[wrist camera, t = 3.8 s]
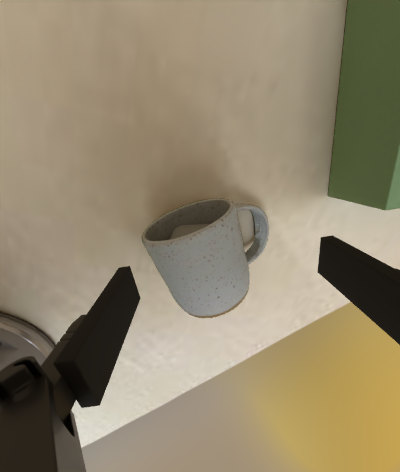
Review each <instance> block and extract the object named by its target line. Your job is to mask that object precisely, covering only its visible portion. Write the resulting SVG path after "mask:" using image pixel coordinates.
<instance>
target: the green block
mask: <svg viewBox="0 0 400 472" xmlns="http://www.w3.org/2000/svg"><path fill="white" fill-rule="evenodd" d="M328 196H330V197H334V198H338V199H342V200H346V201H350V202H354V203H358V204H362V205H366V206H370V207H374V208H378V209H382V210H391V209H397V208H400V0H348V4H347V14H346V24H345V34H344V44H343V53H342V63H341V73H340V83H339V93H338V103H337V113H336V123H335V132H334V142H333V152H332V162H331V172H330V182H329V192H328Z"/></svg>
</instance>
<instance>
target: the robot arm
mask: <svg viewBox="0 0 400 472" xmlns="http://www.w3.org/2000/svg"><path fill="white" fill-rule="evenodd" d="M318 273H319V274H320V275H322V276H323V277H324V278H325V279H326V280H327V281H328V282H329V283H331V284H332V285H333V286H334V287H335V288H336V289H337V290H339V291H340V292H341V293H342V294H343V295H344V296H345V297H346V298H348V299H349V300H350V301H351V302H352V303H353V304H354V305H355V306H357V307H358V308H359V309H360V310H361V311H362V312H363V313H365V314H366V315H367V316H368V317H369V318H370V319H371V320H372V321H374V322H375V323H376V324H377V325H378V326H379V327H380V328H381V329H383V330H384V331H385V332H386V333H387V334H388V335H389V336H390V337H392V338H393V339H394V340H395V341H396V342H397V343H398V344H399V345H400V270H398V269H394V268H392V267H390V266H388V265H387V264H385V263H383V262H381V261H379V260H377V259H375V258H373V257H372V256H370V255H368V254H366V253H364V252H362V251H360V250H358V249H357V248H355V247H353V246H351V245H349V244H347V243H345V242H343V241H342V240H340V239H338V238H336V237H334V236H327V237H321V243H320V254H319V264H318ZM139 300H140V296H139V293H138V289H137V286H136V283H135V280H134V277H133V274H132V271H131V268H130V266H128V267H121V268H118V270H117V271H116V273H115V274H114V276H113V277H112V279H111V280H110V281H109V283H108V284H107V286H106V287H105V289H104V290H103V292H102V293H101V294H100V296H99V297H98V299H97V300H96V302H95V303H94V305H93V306H92V308H91V309H90V310H89V312H88V313H87V315H81V316H80V317H79V318H78V319H77V320H76V321H74V322H73V323H72V324H71V326H70V327H69V328H68V330H67V331H66V334H64V335H63V337H62V338H61V339H60V342H58V343H57V345H56V346H54V344H53V343H52V342H51V341H50V339H49V338H48V337H46V336H45V335H44V334H43V333H42V332H41V331H39V330H38V329H36V328H35V327H33V326H31V325H30V324H28V323H26V322H24V321H22V320H20V319H17V318H15V317H12V316H9V315H5V314H2V313H0V472H86V469H85V464H84V460H83V455H82V450H81V446H80V441H79V436H78V432H77V427H76V422H75V418H74V414H73V413H72V411H71V409H72V407H73V405H74V403H75V401H76V400H77V401H78V403H79V404H80V406H81V408H84V407H91V406H98V405H100V403H101V400H102V398H103V395H104V393H105V390H106V387H107V385H108V382H109V379H110V377H111V374H112V372H113V369H114V366H115V364H116V361H117V358H118V356H119V353H120V350H121V348H122V345H123V343H124V340H125V337H126V335H127V332H128V329H129V327H130V324H131V322H132V319H133V316H134V314H135V311H136V308H137V306H138V303H139Z"/></svg>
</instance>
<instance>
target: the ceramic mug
mask: <svg viewBox="0 0 400 472" xmlns="http://www.w3.org/2000/svg"><path fill="white" fill-rule="evenodd" d="M244 209H249V210H250V211H251V213H252V214H253V217H254V224H255V240H254V242H253V244H252V246H251V247H250V248H249V249H248V250H247V252H245V251H244V246H243V241H242V236H241V231H240V226H239V220H238V215H237V211H238V210H244ZM268 235H269V225H268V220H267V217H266V214H265V213H264V211H263V210H261V209H260V208H258V207H256V206H254V205H250V204H243V203H237V204H234V203H233V202H232V201H231V200H228V199H222V198H220V199H208V200H202V201H199V202H195V203H191V204H188V205H185V206H182V207H180V208H177V209H175V210H172V211H170V212H169V213H167V214H164V215H163V216H161V217H159V218H158V219H156V220H155V221H154V222H152V223H151V224H150V225H149V226H148V227H147V228H146V229H145V230H144V232H143V234H142V242H143V244H144V246H145V248H146V249H147V251H148V253H149V255H150V256H151V258H152V260H153V262H154V264H155V265H156V267H157V269H158V271H159V273H160V274H161V276H162V278H163V279H164V281H165V283H166V285H167V286H168V288H169V290H170V292H171V294H172V296H173V298H174V299H175V301H176V302H177V303H178V304H179V306H180V307H181V308H182V309H183V310H184V311H186V312H187V313H188V314H190V315H192V316H194V317H199V318H213V317H217V316H220V315H223V314H225V313H227V312H229V311H231V310H233V309H234V308H236V307H237V306H238V305H239V304H240V303H241V302H242V300H243V299H244V298H245V296H246V294H247V292H248V289H249V267H248V264H250V263H251V262H253V261H254V260H255V259H257V258H258V256H259V255H260V254H261V253H262V252H263V250H264V248H265V246H266V243H267V240H268Z"/></svg>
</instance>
